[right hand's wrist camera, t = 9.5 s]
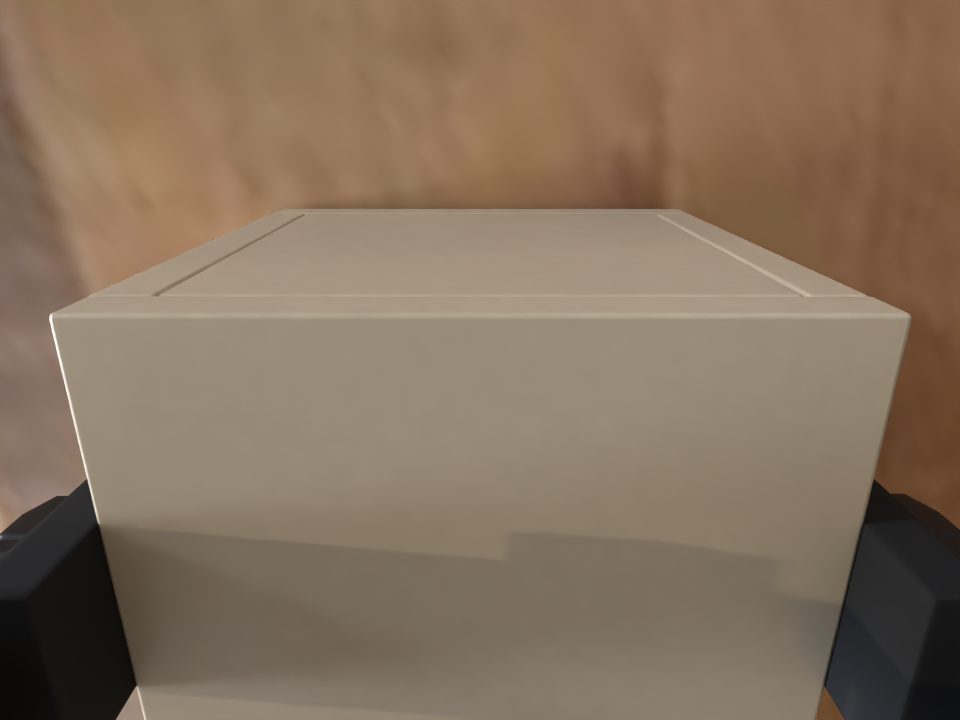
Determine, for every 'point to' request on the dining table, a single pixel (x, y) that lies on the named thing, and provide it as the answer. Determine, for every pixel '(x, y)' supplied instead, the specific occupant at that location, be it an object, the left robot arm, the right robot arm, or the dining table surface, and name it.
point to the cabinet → (480, 466)
